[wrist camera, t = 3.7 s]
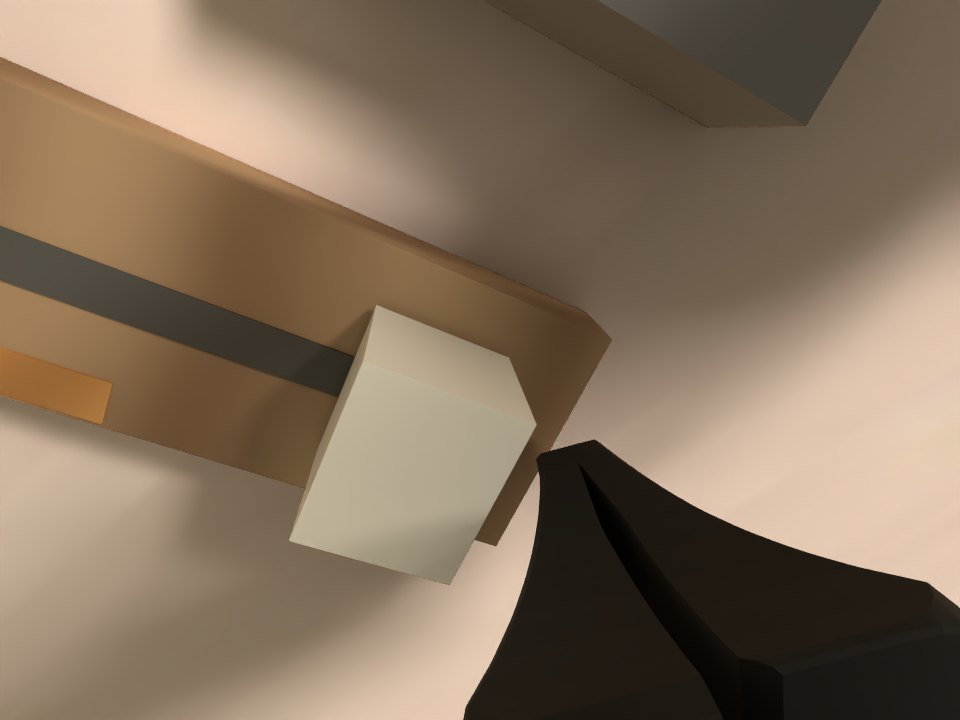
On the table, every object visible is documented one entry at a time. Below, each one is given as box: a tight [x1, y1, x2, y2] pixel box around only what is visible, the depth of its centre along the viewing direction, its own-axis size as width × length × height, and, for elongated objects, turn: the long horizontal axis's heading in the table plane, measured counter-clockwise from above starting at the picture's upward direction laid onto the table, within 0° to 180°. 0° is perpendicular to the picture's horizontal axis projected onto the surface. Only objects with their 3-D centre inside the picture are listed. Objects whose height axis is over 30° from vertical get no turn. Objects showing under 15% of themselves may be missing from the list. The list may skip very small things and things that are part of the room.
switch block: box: [0, 57, 612, 546], centre depth 12 cm, size 14×6×2 cm, turn 66°
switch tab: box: [289, 305, 537, 585], centre depth 11 cm, size 3×4×3 cm
